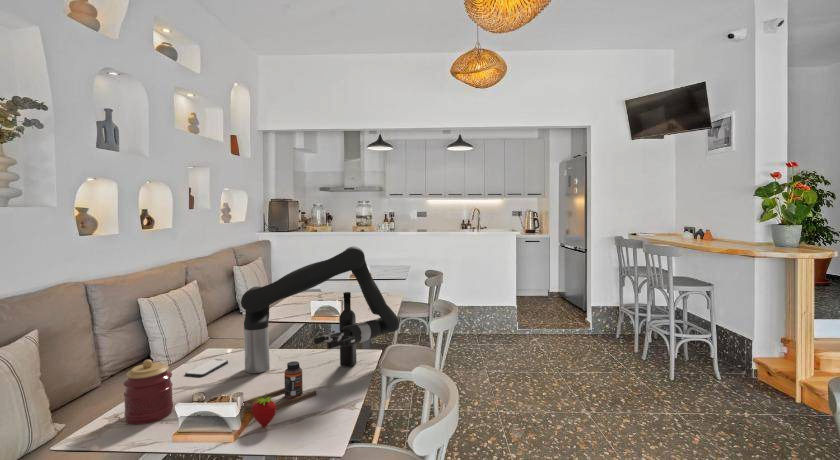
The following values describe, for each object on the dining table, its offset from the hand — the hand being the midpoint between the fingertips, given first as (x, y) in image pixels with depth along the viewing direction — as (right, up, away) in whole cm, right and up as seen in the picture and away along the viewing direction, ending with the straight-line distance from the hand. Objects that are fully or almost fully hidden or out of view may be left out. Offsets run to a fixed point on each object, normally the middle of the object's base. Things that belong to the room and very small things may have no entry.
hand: (321, 343), depth 154 cm
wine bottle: (+6, -15, +22) cm, 27 cm away
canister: (-49, -17, -21) cm, 56 cm away
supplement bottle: (-8, -16, -8) cm, 19 cm away
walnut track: (-11, -16, -11) cm, 22 cm away
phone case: (-51, -16, +18) cm, 56 cm away
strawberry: (-10, -17, -29) cm, 35 cm away
